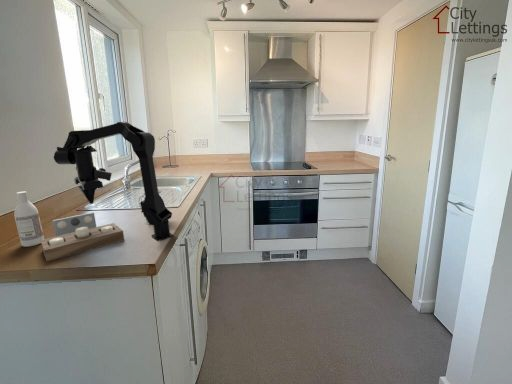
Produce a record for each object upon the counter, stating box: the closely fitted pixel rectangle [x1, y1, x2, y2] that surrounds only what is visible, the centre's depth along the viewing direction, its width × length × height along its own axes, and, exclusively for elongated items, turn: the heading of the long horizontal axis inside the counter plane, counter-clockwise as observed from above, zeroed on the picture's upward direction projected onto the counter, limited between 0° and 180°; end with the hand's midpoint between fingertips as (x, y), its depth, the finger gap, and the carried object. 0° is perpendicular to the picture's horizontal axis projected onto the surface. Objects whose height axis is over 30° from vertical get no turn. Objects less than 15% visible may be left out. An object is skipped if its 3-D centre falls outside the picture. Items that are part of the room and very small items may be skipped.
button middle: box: [75, 227, 90, 239], centre depth 101 cm, size 4×4×4 cm
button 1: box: [49, 238, 64, 245], centre depth 96 cm, size 4×4×4 cm
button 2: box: [101, 226, 113, 233], centre depth 106 cm, size 4×4×4 cm
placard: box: [52, 211, 97, 237], centre depth 111 cm, size 1×14×8 cm, turn 132°
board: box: [40, 222, 125, 262], centre depth 101 cm, size 12×24×4 cm, turn 132°
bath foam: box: [13, 191, 45, 248], centre depth 103 cm, size 7×7×20 cm
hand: (91, 203), depth 109 cm, fingers closed
